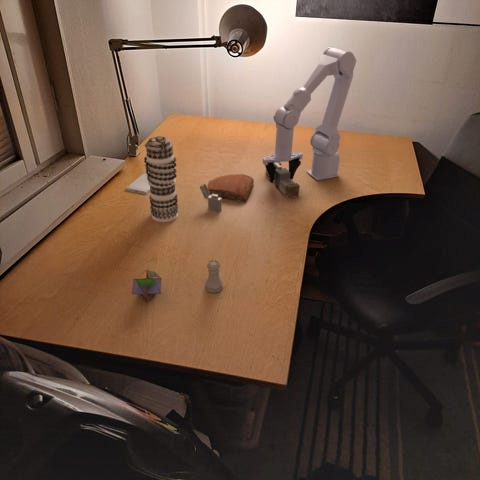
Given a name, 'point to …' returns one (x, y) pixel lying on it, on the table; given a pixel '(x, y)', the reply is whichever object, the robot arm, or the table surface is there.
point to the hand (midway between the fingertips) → (281, 180)
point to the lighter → (211, 199)
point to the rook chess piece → (213, 277)
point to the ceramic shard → (231, 186)
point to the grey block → (281, 175)
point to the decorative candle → (161, 179)
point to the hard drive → (140, 185)
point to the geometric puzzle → (147, 284)
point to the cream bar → (275, 166)
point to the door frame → (289, 187)
